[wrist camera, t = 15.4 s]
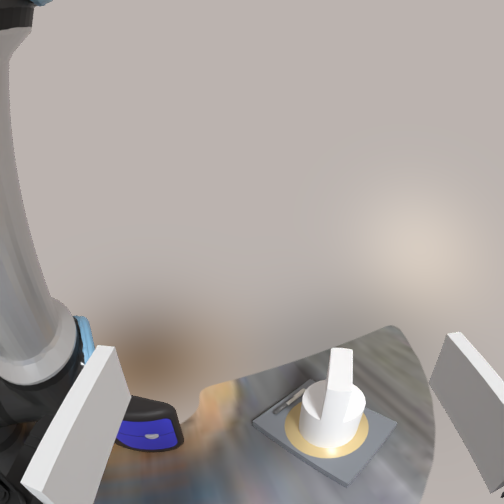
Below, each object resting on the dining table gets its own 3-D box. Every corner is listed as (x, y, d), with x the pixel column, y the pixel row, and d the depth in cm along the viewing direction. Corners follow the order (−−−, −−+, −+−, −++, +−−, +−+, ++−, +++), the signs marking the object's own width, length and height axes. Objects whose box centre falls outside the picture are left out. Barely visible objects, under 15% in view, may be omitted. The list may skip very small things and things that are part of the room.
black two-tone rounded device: (85, 436, 38) (64, 396, 34) (98, 417, 42) (79, 377, 39) (178, 464, 35) (164, 425, 32) (187, 441, 39) (176, 401, 36)
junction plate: (252, 425, 43) (252, 417, 42) (309, 383, 52) (310, 375, 51) (346, 487, 30) (349, 481, 30) (395, 427, 39) (398, 419, 39)
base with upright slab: (355, 450, 35) (376, 394, 31) (293, 444, 38) (301, 387, 34) (357, 407, 43) (373, 350, 40) (303, 402, 46) (310, 344, 42)
